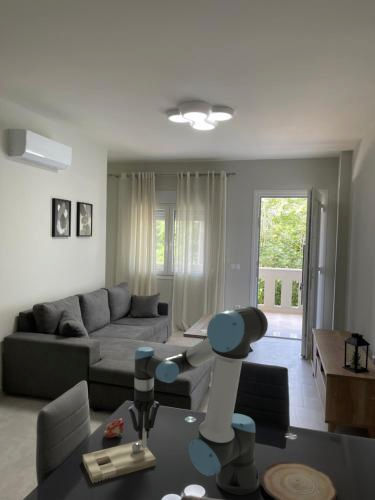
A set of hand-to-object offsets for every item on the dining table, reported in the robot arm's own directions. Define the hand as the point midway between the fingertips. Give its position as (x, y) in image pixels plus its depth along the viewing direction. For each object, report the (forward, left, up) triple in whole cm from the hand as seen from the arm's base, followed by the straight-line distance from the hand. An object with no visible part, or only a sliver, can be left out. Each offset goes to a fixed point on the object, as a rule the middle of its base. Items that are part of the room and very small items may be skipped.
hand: (143, 446), depth 155 cm
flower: (+19, +6, -4) cm, 21 cm away
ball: (0, +3, 0) cm, 3 cm away
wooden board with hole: (0, +10, -4) cm, 11 cm away
